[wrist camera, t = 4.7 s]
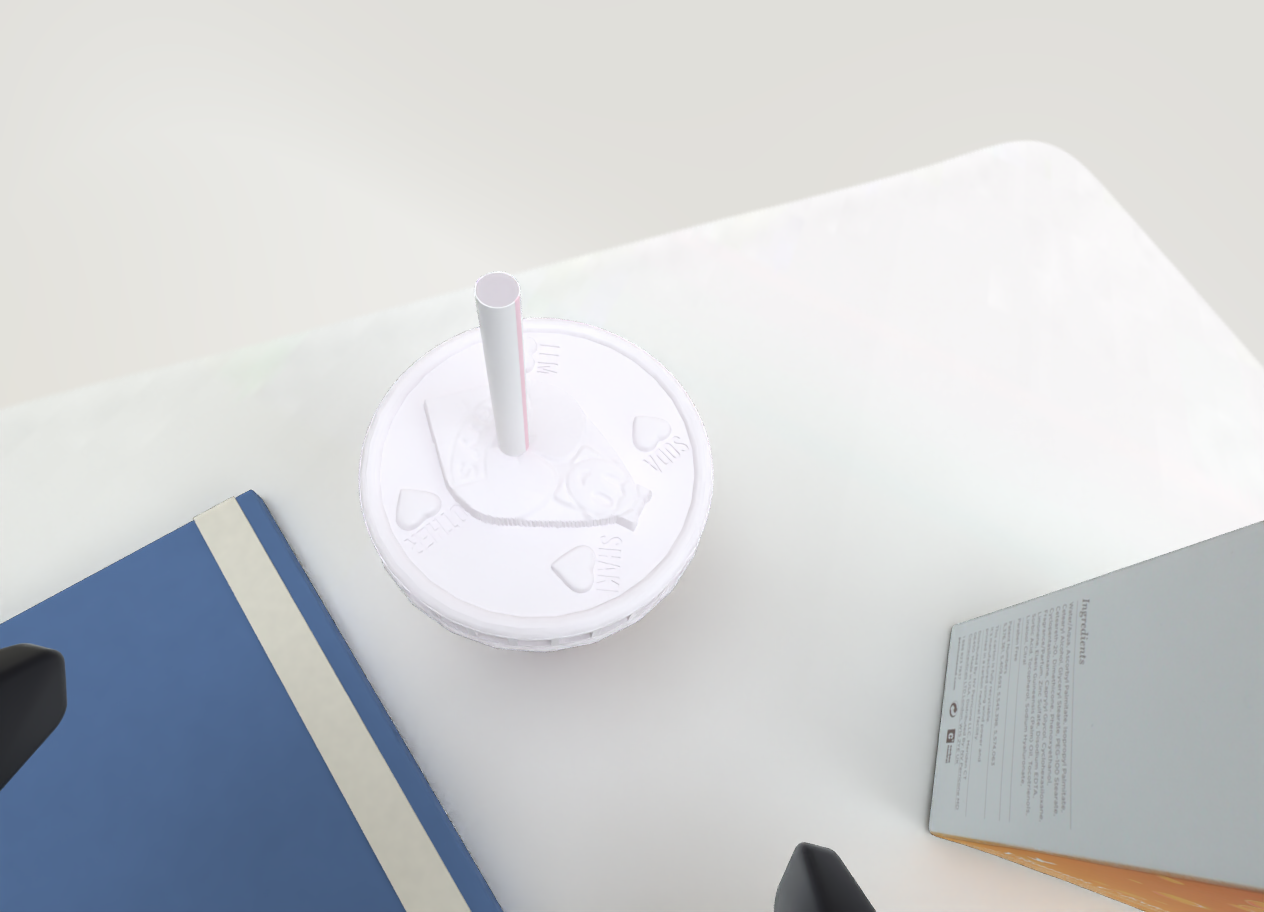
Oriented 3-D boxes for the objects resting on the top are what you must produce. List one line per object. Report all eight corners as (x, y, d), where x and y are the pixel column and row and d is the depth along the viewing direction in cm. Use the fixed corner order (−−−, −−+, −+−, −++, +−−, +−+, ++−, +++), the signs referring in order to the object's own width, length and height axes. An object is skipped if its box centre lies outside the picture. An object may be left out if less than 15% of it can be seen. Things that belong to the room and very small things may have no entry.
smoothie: (506, 461, 22) (450, 61, 10) (680, 546, 22) (862, 240, 9) (394, 637, 20) (115, 399, 7) (590, 740, 19) (672, 685, 6)
